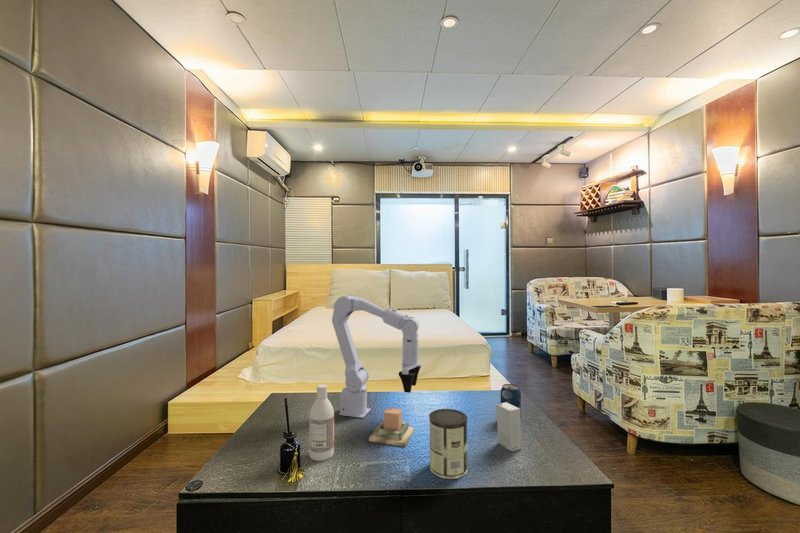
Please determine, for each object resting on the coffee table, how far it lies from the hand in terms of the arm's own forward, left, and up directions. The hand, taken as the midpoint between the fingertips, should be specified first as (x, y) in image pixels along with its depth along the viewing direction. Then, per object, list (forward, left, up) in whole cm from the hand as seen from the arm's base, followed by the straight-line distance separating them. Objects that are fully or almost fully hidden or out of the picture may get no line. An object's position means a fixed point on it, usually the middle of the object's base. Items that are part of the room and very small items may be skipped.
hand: (410, 388), depth 125 cm
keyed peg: (-2, -15, -9) cm, 18 cm away
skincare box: (+34, -11, -11) cm, 37 cm away
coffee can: (+18, -28, -11) cm, 35 cm away
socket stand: (-2, -15, -10) cm, 18 cm away
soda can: (+35, +8, -11) cm, 37 cm away
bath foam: (-18, -32, -11) cm, 38 cm away
